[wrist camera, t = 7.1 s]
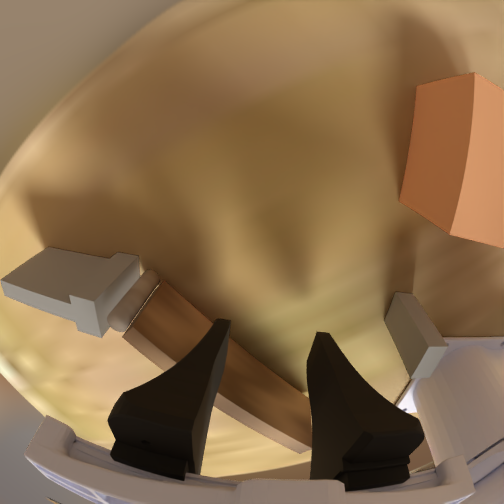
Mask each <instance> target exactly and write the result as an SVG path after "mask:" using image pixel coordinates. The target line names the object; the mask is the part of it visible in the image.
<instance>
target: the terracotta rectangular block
mask: <svg viewBox="0 0 504 504" xmlns="http://www.w3.org/2000/svg"><path fill="white" fill-rule="evenodd" d="M399 202H401V203H403V204H404V205H406V206H407V207H409V208H411V209H412V210H414V211H415V212H417V213H418V214H420V215H421V216H423V217H424V218H426V219H427V220H429V221H430V222H432V223H433V224H435V225H436V226H438V227H439V228H441V229H442V230H444V231H445V232H446V233H448V234H449V235H453V236H457V237H461V238H465V239H469V240H473V241H477V242H481V243H485V244H489V245H493V246H496V247H500V248H504V90H503V89H501V88H500V87H498V86H497V85H495V84H493V83H492V82H490V81H489V80H487V79H485V78H484V77H482V76H480V75H478V74H477V73H475V72H474V73H469V74H464V75H459V76H455V77H450V78H446V79H442V80H438V81H434V82H430V83H426V84H422V85H419V86H417V88H416V99H415V109H414V118H413V125H412V133H411V140H410V146H409V152H408V158H407V164H406V169H405V174H404V179H403V184H402V189H401V194H400V198H399Z"/></svg>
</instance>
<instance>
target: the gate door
mask: <svg viewBox="0 0 504 504" xmlns="http://www.w3.org/2000/svg"><path fill="white" fill-rule="evenodd" d="M159 282H160V277H159V275H158V274H157V273H156V272H155V271H153V270H146V271H145V272H144V273H143V274H142V275H141V276H140V278H139V279H138V280H137V281H136V282H135V283H134V285H133V286H132V287H131V288H130V289H129V291H128V292H127V293H126V294H125V295H124V296H123V298H122V299H121V300H120V301H119V303H118V304H117V305H116V306H115V307H114V309H113V310H112V311H111V312H110V313H109V315H108V316H107V321H108V324H109V325H110V326H111V328H113V329H114V330H116V331H118V332H124V331H126V329H127V328H128V326H129V325H130V323H131V322H132V320H133V319H134V318H135V319H134V320H133V322H132V323H131V325H130V326H129V328H128V329H127V331H126V332H125V334H124V335H123V338H124V339H125V340H126V341H127V342H129V343H130V344H131V345H132V346H133V347H134V348H136V349H137V350H138V351H139V352H140V353H142V354H143V355H144V356H145V357H147V358H148V359H149V360H150V361H152V362H153V363H154V364H155V365H157V366H158V367H159V368H161V369H162V370H163V371H167V370H168V369H170V368H171V367H173V366H174V365H175V364H176V363H178V362H179V361H180V360H181V359H182V358H184V357H185V356H186V355H187V354H188V353H189V352H190V351H191V350H192V349H193V348H194V347H195V346H196V345H197V344H198V343H199V342H200V340H201V339H202V338H203V337H204V336H205V335H206V333H207V332H208V331H209V329H210V328H211V327H212V325H213V323H212V322H211V321H210V320H208V319H207V318H206V317H205V316H204V315H203V314H202V313H200V312H199V311H198V310H197V309H196V308H195V307H194V306H192V305H191V304H190V303H189V302H188V301H187V300H186V299H185V298H183V297H182V296H181V295H180V294H179V293H178V292H177V291H176V290H175V289H174V288H172V287H171V286H170V285H169V284H168V283H167V282H166V281H165V280H164V281H163V282H162V283H161V284H160V285H159V286H158V287H157V288H156V286H157V285H158V284H159ZM155 288H156V289H155ZM154 289H155V290H154ZM153 291H154V292H153ZM152 292H153V293H152ZM151 293H152V295H151ZM150 295H151V296H150ZM149 296H150V297H149ZM148 298H149V299H148ZM147 299H148V300H147ZM146 300H147V302H146ZM145 302H146V303H145ZM144 303H145V304H144ZM143 305H144V306H143ZM142 306H143V307H142ZM141 308H142V309H141ZM140 309H141V310H140ZM139 310H140V312H139ZM138 312H139V313H138ZM137 313H138V315H137ZM136 315H137V316H136ZM135 316H136V317H135ZM213 406H215V407H216V408H218V409H219V410H221V411H223V412H224V413H226V414H227V415H229V416H231V417H232V418H234V419H236V420H237V421H239V422H241V423H242V424H244V425H246V426H247V427H249V428H251V429H253V430H255V431H256V432H258V433H260V434H262V435H264V436H265V437H267V438H269V439H271V440H273V441H275V442H277V443H279V444H281V445H283V446H285V447H287V448H289V449H291V450H293V451H295V452H297V453H299V454H300V453H303V452H306V451H308V450H311V449H312V425H311V411H310V400H309V398H308V397H306V396H305V395H304V394H302V393H301V392H299V391H298V390H297V389H295V388H294V387H293V386H291V385H290V384H288V383H287V382H286V381H284V380H283V379H282V378H280V377H279V376H278V375H276V374H275V373H274V372H273V371H271V370H270V369H269V368H267V367H266V366H265V365H263V364H262V363H261V362H260V361H258V360H257V359H256V358H255V357H253V356H252V355H251V354H249V353H248V352H247V351H246V350H244V349H243V348H242V347H241V346H240V345H238V344H237V343H236V342H235V341H233V340H232V339H231V338H230V337H229V342H228V351H227V357H226V362H225V368H224V372H223V375H222V378H221V382H220V385H219V388H218V391H217V395H216V398H215V401H214V404H213Z"/></svg>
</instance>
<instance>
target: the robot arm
mask: <svg viewBox="0 0 504 504" xmlns="http://www.w3.org/2000/svg"><path fill="white" fill-rule="evenodd" d="M230 324H231V320H224V319H216V320H215V322H214V324H213V325H212V327H211V328H210V329H209V331H208V332H207V333H206V335H205V336H204V337H203V338H202V339H201V340H200V342H199V343H198V344H197V345H196V346H195V347H194V348H193V349H192V350H191V351H190V352H189V353H188V354H187V355H186V356H185V357H184V358H182V359H181V360H180V361H179V362H178V363H176V364H175V365H174V366H173V367H171V368H170V369H168V370H167V371H165V372H164V373H162V374H161V375H159V376H158V377H156V378H154V379H152V380H150V381H149V382H147V383H145V384H143V385H141V386H138V387H136V388H134V389H131V390H129V391H126V392H123V394H122V395H121V396H120V398H119V399H118V400H117V402H116V403H115V405H114V407H113V409H112V411H111V413H110V415H109V417H108V424H109V427H110V429H111V431H112V433H113V435H114V437H115V439H116V441H115V443H114V445H113V448H112V450H109V449H106V448H103V447H101V446H98V445H96V444H93V443H91V442H89V441H86V440H84V439H82V438H79V437H77V436H76V434H75V432H74V431H73V429H72V428H70V427H69V426H68V425H66V424H64V423H62V422H60V421H58V420H56V419H54V418H52V417H50V416H48V415H46V417H45V418H44V420H43V422H42V423H41V425H40V427H39V428H38V430H37V432H36V433H35V435H34V437H33V438H32V440H31V442H30V444H29V445H28V447H27V449H26V451H25V453H24V456H25V457H26V458H27V459H28V460H29V461H30V462H31V463H32V464H33V465H34V466H35V467H36V468H37V469H38V470H39V471H40V472H41V473H43V474H44V475H45V476H46V477H47V478H48V479H50V480H52V481H54V482H55V483H57V484H59V485H61V486H63V487H65V488H66V489H68V490H70V491H72V492H74V493H76V494H78V495H80V496H82V497H84V498H86V499H88V500H90V501H92V502H94V503H96V504H504V336H503V337H443V339H444V341H445V342H446V344H447V345H448V348H447V350H446V352H445V353H444V355H443V357H442V358H441V360H440V362H439V363H438V365H437V367H436V368H435V370H434V372H433V373H432V375H431V376H430V378H415V379H412V380H411V382H410V384H409V385H408V387H407V388H406V390H405V391H404V393H403V394H402V396H401V397H400V399H399V400H398V402H397V403H396V405H394V404H392V403H391V402H389V401H388V400H387V399H385V398H384V397H383V396H382V395H380V394H379V393H378V392H377V391H376V390H375V389H373V388H372V387H371V386H370V385H369V384H368V383H367V382H366V381H365V380H364V379H363V378H362V376H361V375H360V374H359V373H358V372H357V371H356V370H355V368H354V367H353V366H352V365H351V363H350V362H349V361H348V359H347V358H346V357H345V355H344V354H343V353H342V351H341V350H340V348H339V347H338V345H337V344H336V342H335V341H334V339H333V338H332V337H331V335H330V334H329V333H326V332H317V333H316V336H315V339H314V342H313V345H312V348H311V351H310V353H309V356H308V359H307V386H308V393H309V400H310V408H311V415H312V457H311V472H310V480H285V479H250V480H244V481H243V482H242V481H234V480H226V479H219V478H213V477H207V476H202V475H200V472H201V466H202V460H203V455H204V449H205V443H206V438H207V432H208V427H209V422H210V417H211V412H212V408H213V404H214V401H215V398H216V395H217V391H218V388H219V385H220V382H221V378H222V375H223V372H224V368H225V362H226V357H227V351H228V342H229V333H230ZM413 412H417V413H418V415H419V418H420V421H421V423H422V426H421V424H420V421H419V419H418V418H416V417H414V416H412V415H410V414H408V413H413ZM422 427H423V429H422ZM423 430H424V432H425V435H426V438H427V441H428V445H429V448H430V451H431V454H432V457H433V460H434V464H435V467H436V468H433V469H429V470H425V471H421V472H417V473H412V474H409V470H408V466H407V464H409V463H410V459H409V455H410V454H411V453H412V452H413V451H414V450H415V449H416V448H417V447H418V446H419V445H420V444H421V443H422V441H423V440H424V432H423Z"/></svg>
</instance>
